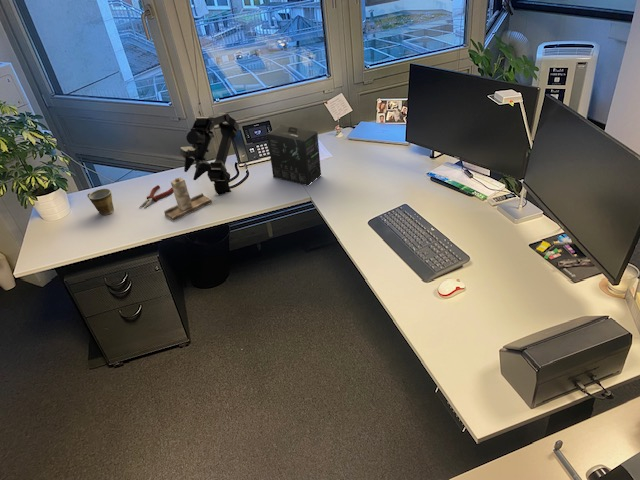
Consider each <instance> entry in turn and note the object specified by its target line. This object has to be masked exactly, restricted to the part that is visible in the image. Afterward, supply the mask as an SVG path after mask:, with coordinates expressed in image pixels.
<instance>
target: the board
mask: <svg viewBox="0 0 640 480" xmlns="http://www.w3.org/2000/svg"><path fill="white" fill-rule="evenodd" d="M190 200H191V203H192V207H190V208H188V209H186V210H184V211H183V210H181V209H179V207H178V204H176V205H173V206H171V207H170V208H168V209H165V210H164V212H163V213H164V215H165V216H166V217H167V218H168V219H170V220H172V222H173V221H174V222H175V221H177V220H179V219H181V218H183V217H185V216H186V215H188V214H191V213H192V212H195V211H197V210H199V209H201V208H203V207H205V206H208V205H209V204H211V203H212V199H211V198H208V196H205V195H204V192H203V193H202V192H201V193H199V194H197V195H195V196H192V197H190Z"/></svg>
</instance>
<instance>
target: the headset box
mask: <svg viewBox="0 0 640 480" xmlns="http://www.w3.org/2000/svg"><path fill="white" fill-rule="evenodd" d="M266 137H267V143H268V144H267V145H268V151H269V155H270V163H271V171H272V177H273V178H276V179H279V180H284V181H287V182H291V183H297V184H299V183H300V185H303V184H306V185H305V186H307V185H309V184H310V183H311V182H313V181H314V180H315V179H316V178H318V177H319V176H320V175H321V176H322V172H321V171H322V170H321V157H320V146H319V136H318V131H316V130H315V131H314V130H309V129H303V128H298V127H293V126H287V125H283V124H282V125H279V126H277V127H275V128H274V129H273V130H271V131H269V132H267V133H266ZM321 176H320V177H321ZM320 177H319V178H320ZM319 178H318V179H319ZM314 182H315V181H314ZM314 182H313V183H314ZM309 186H310V185H309Z"/></svg>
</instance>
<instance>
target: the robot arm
mask: <svg viewBox="0 0 640 480" xmlns="http://www.w3.org/2000/svg"><path fill="white" fill-rule="evenodd" d="M216 125H218V128H219V129H220V134H221V139H220V143H219V147H218V150H217V154H216V157H215V160H214V162H213V161H212V162H208V161H207V158H206V157H205V156H206V154H207V153H209V151H210V150H209V146H210V143H211V141H212V138H215V135H214V132H213V131H212V130H213V129H214V128H215V126H216ZM239 130H240V125H239V124H238V122H237V121H236V119H235V118H233V117H231V116H230V115H229V113H228V112H219V113H217V114H213V115H209V116H196V118H195V120H194V122H193V125H192V127H191V128H190V131H188V132H187V134H186V141H187V143H188V144H190V145H191V146H188V145H187V146H180V148H179V149H180V150H179V151H180V152H179V154H180V156H182V157H183V159H184V168H183V169H184V173H187V172H188V171H189V170H190V169H191V166H192V165H193V163H194V162H195V165H194V167H195V172H194V173H193V174H194V176H193V181H197V180H199V178H200V177H201V176H203V175H204V174H205V173H206V172H207V177H208V179H209V181H210V183H213V188H214V191H215V193H216V194H217V195H218V196H220V195H225V194H228V193H231V192H232V190H231V188H230V184H229V182H230V181H231V173H230V172H228V170H227V167H226V162H227V159H228V156H229V152H230V151H229V150H230V148H231V144H232V141H233V139H235V138H236V137H237V136H238V132H239Z"/></svg>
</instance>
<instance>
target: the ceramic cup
mask: <svg viewBox="0 0 640 480" xmlns="http://www.w3.org/2000/svg"><path fill="white" fill-rule="evenodd" d="M87 198H88V200H89V201H90V203H91V204H92V205H93V207H95V209H96V210H97V212H98V214H100V215H101V216H109V215H111V214H112V213H114V212H115V207H114V203H113V195H112V190H111V189H109V188H100V189H96V190H94V191H92V192H91V193H88V194H87Z"/></svg>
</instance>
